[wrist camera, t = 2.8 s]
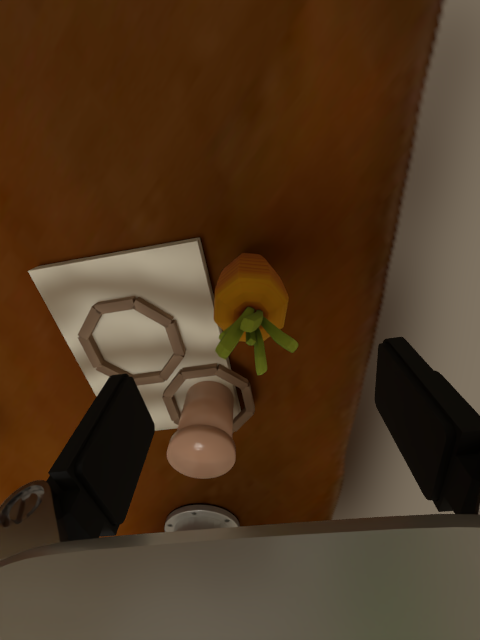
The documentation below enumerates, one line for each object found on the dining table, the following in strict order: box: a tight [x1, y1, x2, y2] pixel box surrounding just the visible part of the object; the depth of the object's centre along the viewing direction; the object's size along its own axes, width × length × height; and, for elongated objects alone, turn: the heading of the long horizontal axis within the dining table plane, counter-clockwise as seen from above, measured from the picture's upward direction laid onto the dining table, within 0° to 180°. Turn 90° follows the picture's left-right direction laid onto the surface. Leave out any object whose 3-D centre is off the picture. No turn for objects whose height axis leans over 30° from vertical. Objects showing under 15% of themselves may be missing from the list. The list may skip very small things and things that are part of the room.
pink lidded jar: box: [167, 381, 236, 479], centre depth 30 cm, size 6×6×8 cm
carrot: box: [214, 253, 298, 375], centre depth 20 cm, size 5×5×15 cm
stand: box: [28, 237, 255, 433], centre depth 31 cm, size 23×18×2 cm
